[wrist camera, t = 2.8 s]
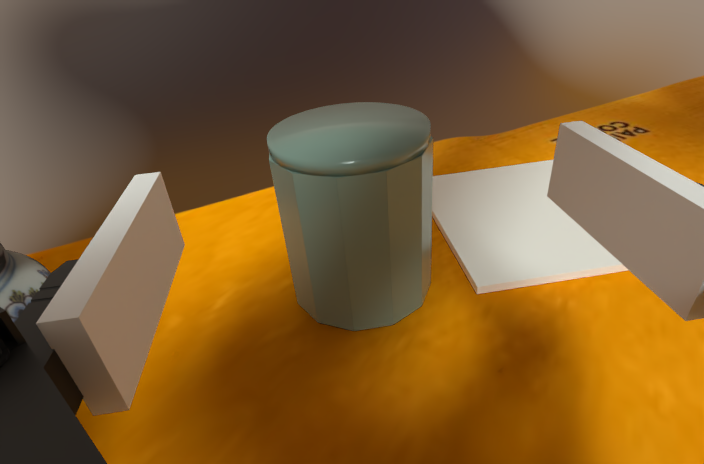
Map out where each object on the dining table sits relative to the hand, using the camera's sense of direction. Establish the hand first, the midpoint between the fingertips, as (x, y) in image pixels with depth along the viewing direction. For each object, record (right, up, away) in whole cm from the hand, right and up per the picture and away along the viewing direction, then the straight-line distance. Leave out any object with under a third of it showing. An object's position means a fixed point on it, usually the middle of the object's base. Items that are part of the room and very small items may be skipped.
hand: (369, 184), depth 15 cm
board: (+14, 0, +21) cm, 25 cm away
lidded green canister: (0, -5, +16) cm, 16 cm away
